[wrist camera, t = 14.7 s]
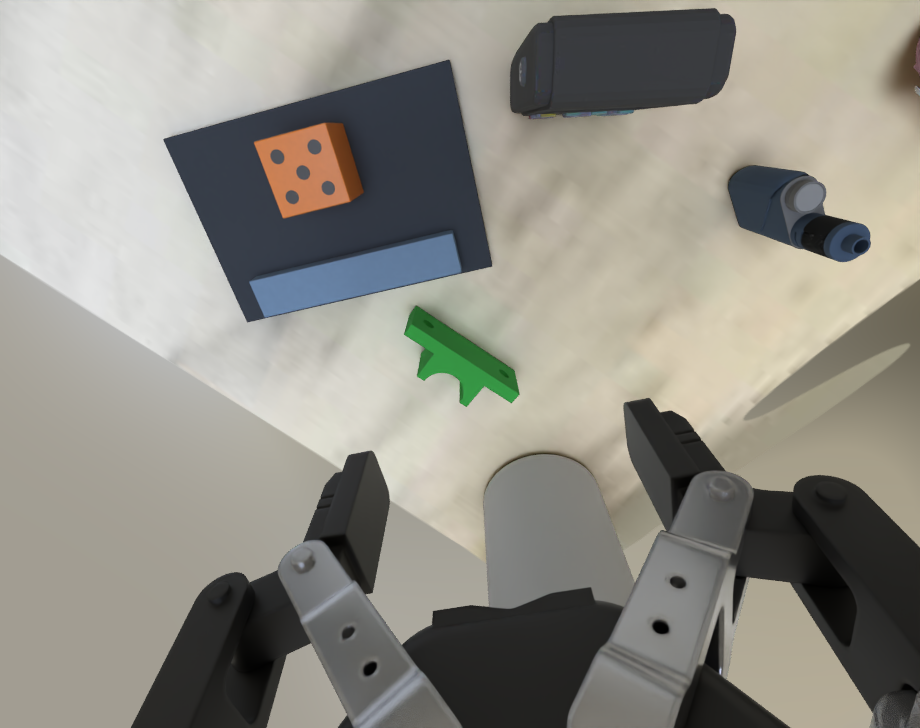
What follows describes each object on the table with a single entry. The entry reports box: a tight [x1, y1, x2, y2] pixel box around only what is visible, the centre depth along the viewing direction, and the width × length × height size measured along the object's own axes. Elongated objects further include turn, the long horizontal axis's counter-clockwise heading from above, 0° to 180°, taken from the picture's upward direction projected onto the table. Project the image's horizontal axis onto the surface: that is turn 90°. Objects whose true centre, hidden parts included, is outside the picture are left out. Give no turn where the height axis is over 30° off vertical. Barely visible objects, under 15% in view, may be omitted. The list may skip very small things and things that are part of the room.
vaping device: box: [728, 165, 871, 262], centre depth 33 cm, size 3×5×12 cm, turn 29°
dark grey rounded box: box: [510, 8, 736, 119], centre depth 28 cm, size 9×4×15 cm, turn 92°
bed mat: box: [163, 60, 492, 322], centre depth 38 cm, size 15×22×3 cm
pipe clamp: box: [404, 306, 519, 407], centre depth 43 cm, size 11×4×5 cm, turn 54°
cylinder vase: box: [483, 454, 635, 609], centre depth 41 cm, size 12×12×25 cm
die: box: [254, 123, 364, 218], centre depth 34 cm, size 5×5×5 cm
